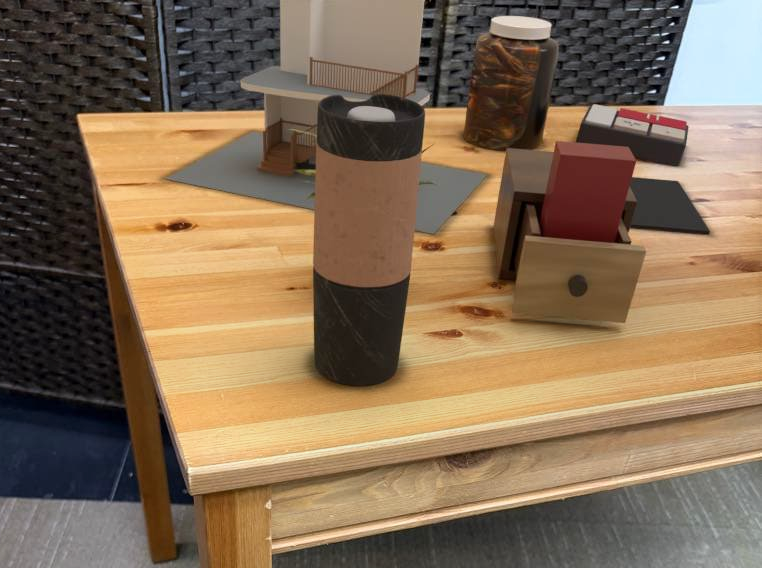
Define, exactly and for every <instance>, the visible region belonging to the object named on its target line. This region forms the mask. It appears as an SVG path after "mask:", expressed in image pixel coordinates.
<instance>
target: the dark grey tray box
mask: <svg viewBox="0 0 762 568" xmlns="http://www.w3.org/2000/svg"><path fill="white" fill-rule="evenodd" d="M687 123H688V122H687V121H686V120H682V119H677V118H673V117H667V116H662V115H657V114H652V113H647V112H643V111H642V112H641V111H638V110H634V109H628V108H620V109H619V110H618V109H617V108H616V107H611V106H606V105H601V104H596V103H594V104H592V105H589V107H588V108H587V110H586V113H585V114H584V116H583V118H582V119H581V123H580V125H579V129H578V132H577V136H576V139H575V142H576V143H588V144H600V145H612V146H624V147H629V149H630V150H631V152H632V154H633V156H634V158H638V159H644V160H648V161H653V162H657V163H661V164H666V165H670V166H674V167H675V166H676V167H678V166H680V164H681V161H682V158H683V156H684V152H685V149H686V147H687V141H688V135H689V127H690V126H689V125H688V124H687Z"/></svg>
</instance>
